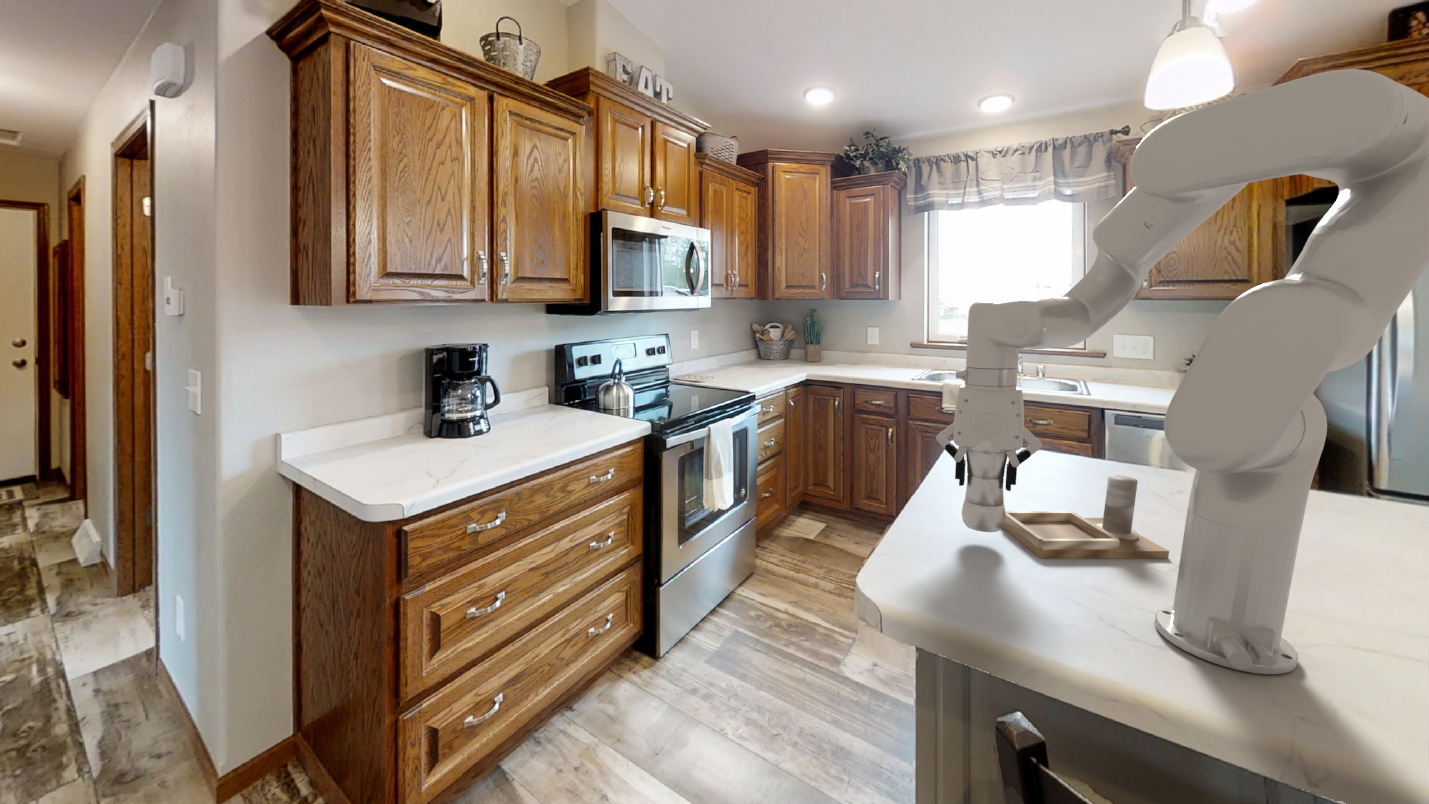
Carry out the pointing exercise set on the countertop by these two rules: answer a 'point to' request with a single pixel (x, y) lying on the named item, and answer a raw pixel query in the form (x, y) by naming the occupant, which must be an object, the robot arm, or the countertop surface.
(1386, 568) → the countertop surface
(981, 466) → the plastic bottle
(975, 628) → the countertop surface
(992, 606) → the countertop surface
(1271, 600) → the robot arm
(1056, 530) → the board
